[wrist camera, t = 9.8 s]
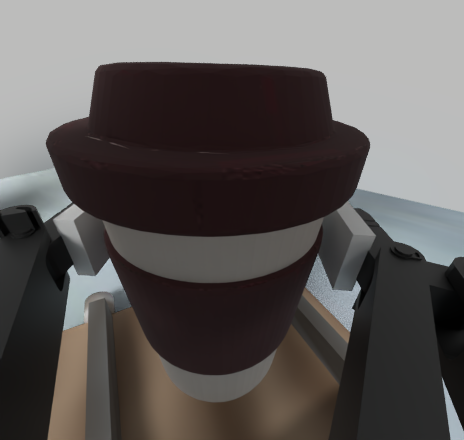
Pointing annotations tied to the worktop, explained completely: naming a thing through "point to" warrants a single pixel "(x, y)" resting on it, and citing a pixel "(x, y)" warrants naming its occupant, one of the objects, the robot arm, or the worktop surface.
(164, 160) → the coffee cup
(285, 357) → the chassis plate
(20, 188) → the worktop surface
